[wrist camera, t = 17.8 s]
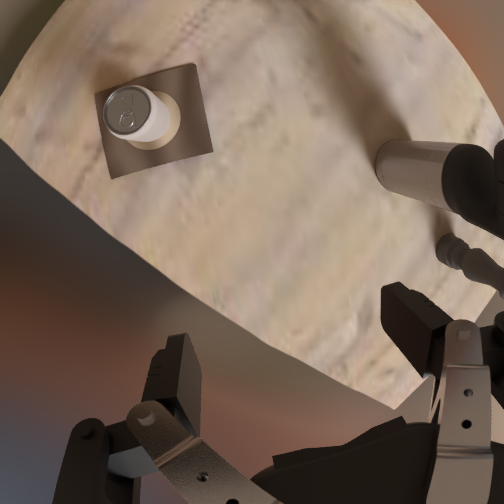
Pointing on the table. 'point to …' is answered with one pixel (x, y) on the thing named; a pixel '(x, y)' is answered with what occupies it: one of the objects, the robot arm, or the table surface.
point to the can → (136, 114)
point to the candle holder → (470, 262)
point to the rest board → (178, 133)
